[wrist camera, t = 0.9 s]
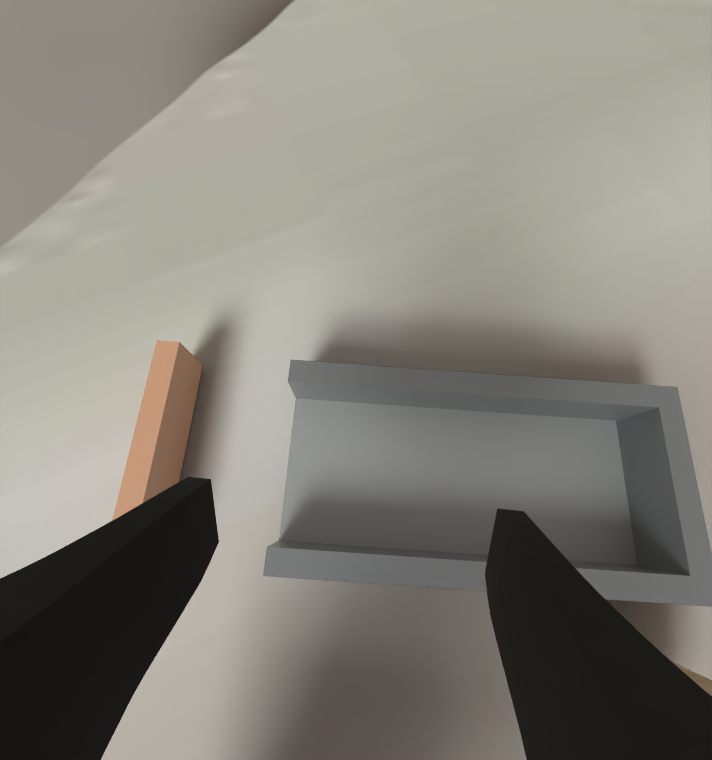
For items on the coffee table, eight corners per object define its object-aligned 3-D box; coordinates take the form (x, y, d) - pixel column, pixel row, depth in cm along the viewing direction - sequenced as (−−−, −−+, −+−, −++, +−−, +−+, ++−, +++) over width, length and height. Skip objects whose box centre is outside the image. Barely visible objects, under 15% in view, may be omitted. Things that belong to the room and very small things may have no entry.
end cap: (161, 568, 21) (124, 581, 17) (139, 567, 21) (97, 579, 17) (202, 365, 24) (179, 341, 21) (183, 364, 24) (157, 340, 21)
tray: (654, 589, 21) (722, 607, 17) (278, 563, 21) (263, 576, 17) (625, 405, 24) (677, 387, 21) (299, 382, 24) (290, 359, 20)
